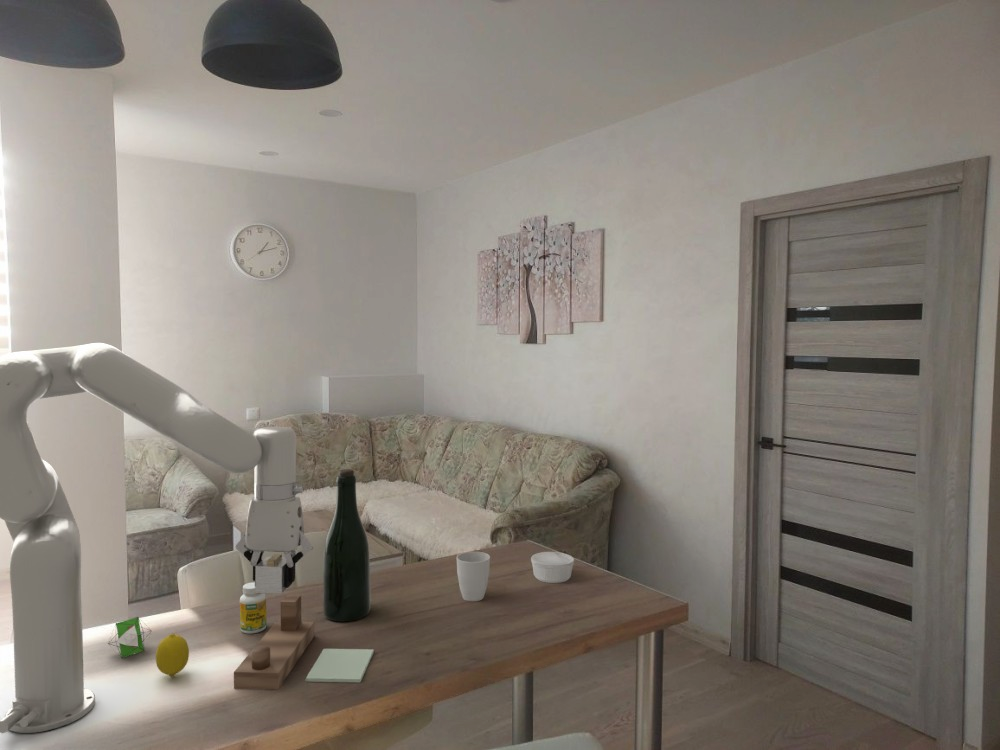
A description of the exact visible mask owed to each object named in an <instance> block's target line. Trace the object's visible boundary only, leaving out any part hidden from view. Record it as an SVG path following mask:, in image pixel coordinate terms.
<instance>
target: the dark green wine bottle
mask: <svg viewBox="0 0 1000 750" xmlns="http://www.w3.org/2000/svg"><path fill="white" fill-rule="evenodd" d="M335 483H336V500H335V501H336V504H335V510H334V515H333V518H332V520H331V523H330V526H329V529H328V530H327V534H326V537H325V540H324V542H325V543H324V548H323V550H324V551H323V580H322V581H323V582H322V583H323V584H322V587H323V588H322V594H323V595H322V607H323V610H322V611H323V612H322V613H323V615H324V616H325V618H327V619H329V620H331V621H335V622H352V621H353V622H354V621H357V620H360V619H362V618H364V617H366V616H367V615H368V614H369V613H370V611H371V571H370V570H371V568H370V567H371V565H370V563H371V562H370V544H369V539H368V534H367V531H366V529H365V526H364V525H363V521H362V518H361V516H360V512H359V508H358V501H357V500H358V499H357V476H356V475H355V469H351V468H344V469H339V470H338V475H337V476H336V481H335Z"/></svg>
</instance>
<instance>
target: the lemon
mask: <svg viewBox="0 0 1000 750" xmlns="http://www.w3.org/2000/svg"><path fill="white" fill-rule="evenodd" d="M189 656H190V651H189V646H188V643H187V640H186V639H185V638H184V637H183V636H181V635H178V634H176V633H170V634H169V635H168V636H165V637H164V638H163V639H162V640H161V641H160V642H159V643H158V645H157V648H156V651H155V663H156V667H157V668H158V670H159V671H160V672H161V673H162V674H164V675H166V676H167V675H168V676H169V677H172V678H173V677H175V676H176V675H177V674H178V673H180V672H182V671H183V670H184V668H185V667H186V666H187V663H188V661H189Z"/></svg>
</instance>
